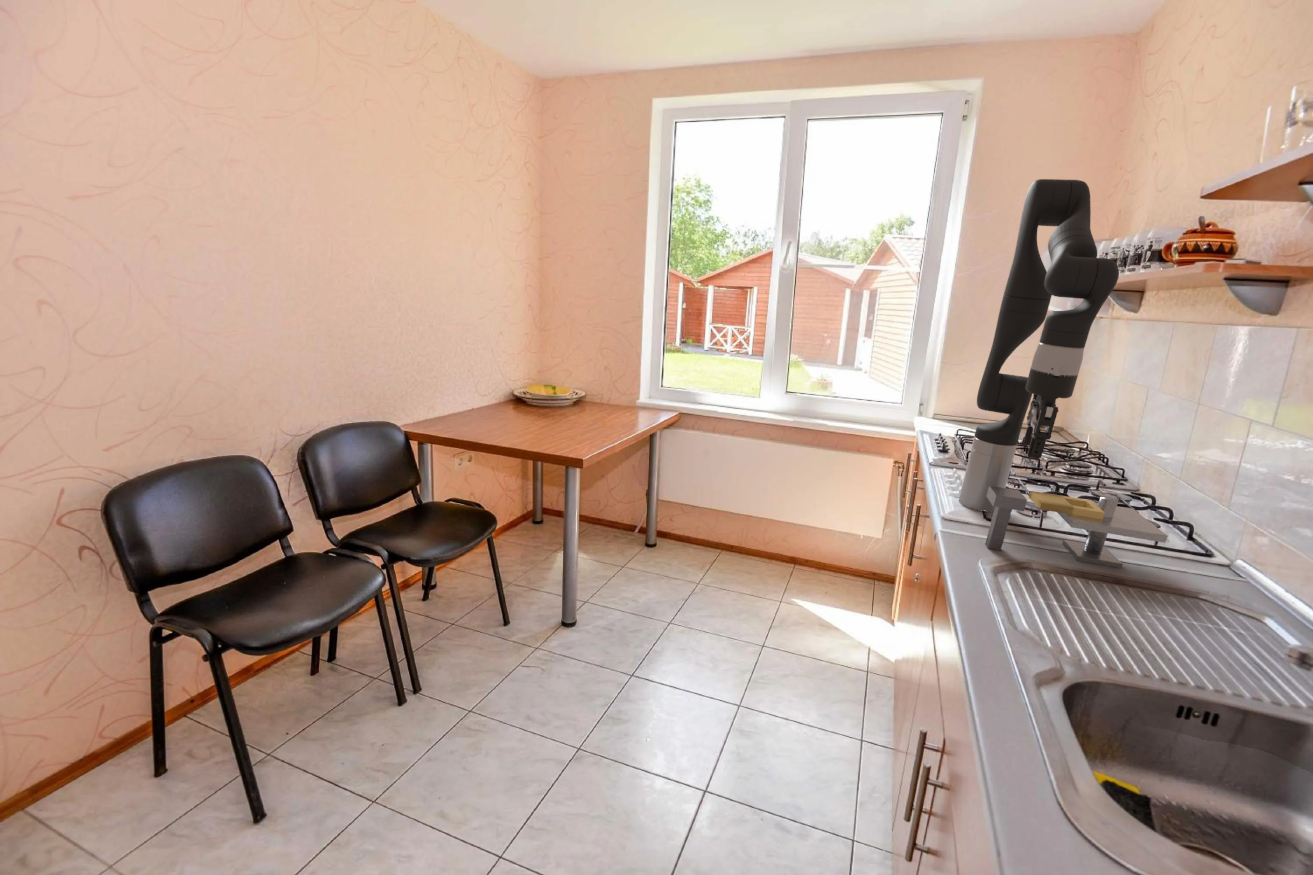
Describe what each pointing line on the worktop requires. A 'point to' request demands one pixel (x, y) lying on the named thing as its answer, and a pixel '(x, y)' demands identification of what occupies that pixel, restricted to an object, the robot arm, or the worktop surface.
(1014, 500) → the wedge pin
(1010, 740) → the worktop surface
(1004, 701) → the worktop surface
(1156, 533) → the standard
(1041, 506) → the bracket
